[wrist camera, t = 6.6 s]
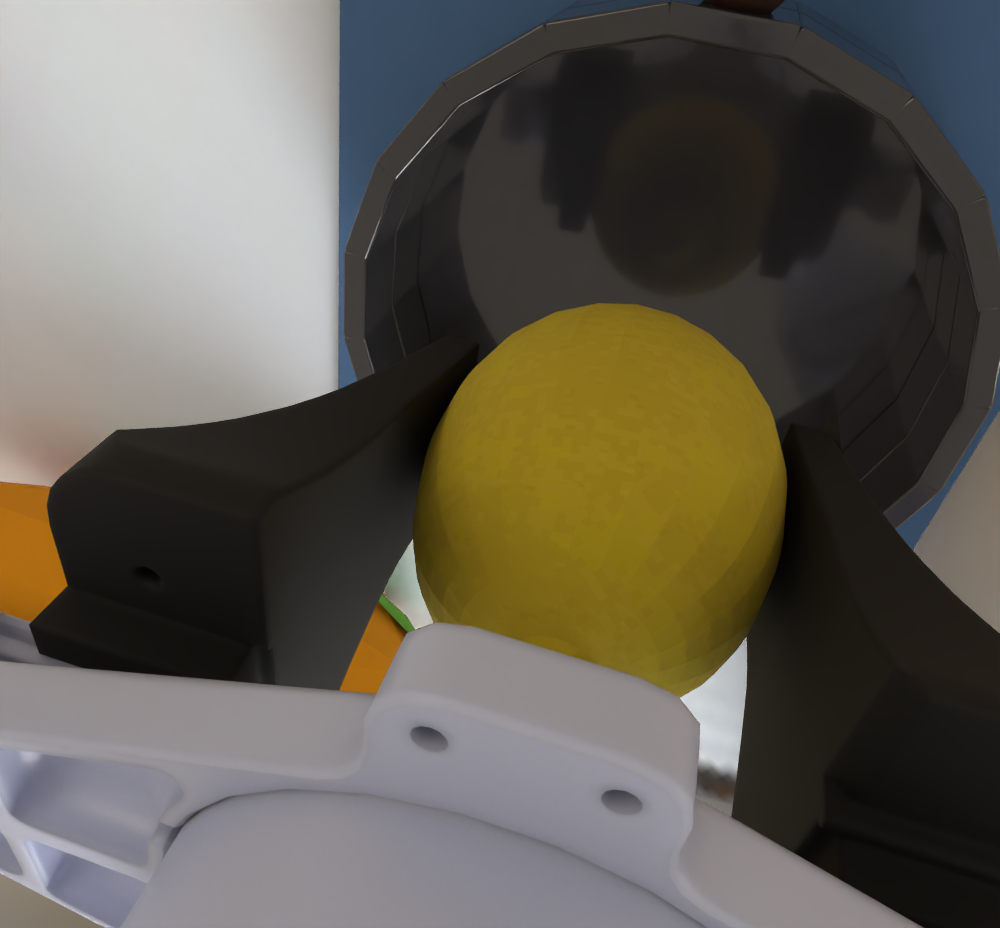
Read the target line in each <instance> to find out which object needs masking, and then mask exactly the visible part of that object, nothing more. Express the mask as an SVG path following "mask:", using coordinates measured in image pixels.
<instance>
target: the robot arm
mask: <svg viewBox="0 0 1000 928" xmlns="http://www.w3.org/2000/svg"><path fill="white" fill-rule="evenodd" d="M479 344H480V343H476V342H472V341H468V340H464V339H460V338H457V337H453V336H449V335H447V336H445V337H443V338H441V339H439V340H437V341H435V342H433V343H431V344H429V345H427V346H426V347H424V348H422V349H420V350H418V351H417V352H415V353H413V354H411V355H409V356H407V357H405V358H403V359H402V360H400V361H398V362H396V363H394V364H392V365H390V366H388V367H386V368H384V369H382V370H380V371H378V372H376V373H374V374H372V375H369V376H367V377H365V378H363V379H361V380H358V381H356V382H354V383H352V384H349V385H347V386H345V387H343V388H340V389H338V390H335V391H333V392H330V393H328V394H325V395H322V396H319V397H317V398H314V399H310V400H307V401H304V402H301V403H298V404H295V405H292V406H288V407H284V408H280V409H276V410H272V411H267V412H263V413H259V414H255V415H250V416H246V417H242V418H236V419H230V420H224V421H218V422H212V423H204V424H196V425H188V426H178V427H163V428H146V429H128V430H116V431H115V432H114V433H112V434H111V435H110V436H108V437H107V438H106V439H105V440H104V441H103V442H101V443H100V444H99V445H98V446H97V447H95V448H94V449H93V450H92V451H91V452H89V453H88V454H87V455H86V456H85V457H83V458H82V459H81V460H80V461H79V462H77V463H76V464H75V465H74V466H73V467H71V468H70V469H69V470H68V471H67V472H65V473H64V474H63V475H62V476H61V477H60V478H59V479H58V480H57V481H56V482H55V484H54V485H53V486H52V487H51V488H50V491H49V496H48V500H47V511H48V518H49V524H50V528H51V532H52V535H53V538H54V542H55V545H56V548H57V552H58V555H59V558H60V562H61V565H62V568H63V572H64V575H65V579H66V582H67V585H68V586H67V587H66V588H65V589H64V590H63V591H62V592H61V593H60V594H59V595H58V596H57V597H56V598H55V599H54V600H53V601H52V602H51V603H50V604H49V605H48V606H47V607H46V608H45V609H44V610H43V611H42V612H41V613H40V614H39V615H38V616H37V617H36V618H35V619H34V620H33V621H32V622H30V621H27V620H24V619H20V618H17V617H14V616H11V615H8V614H5V613H2V612H0V873H1V874H3V875H5V876H7V877H9V878H10V879H12V880H14V881H16V882H18V883H20V884H22V885H24V886H26V887H28V888H30V889H32V890H34V891H35V892H37V893H39V894H41V895H43V896H45V897H47V898H49V899H51V900H53V901H55V902H57V903H59V904H60V905H63V906H65V907H66V908H68V909H70V910H72V911H74V912H76V913H78V914H80V915H82V916H84V917H86V918H87V919H89V920H91V921H93V922H95V923H97V924H99V925H101V926H103V927H105V928H1000V633H998V632H997V631H996V630H995V629H993V628H992V627H991V626H990V625H989V624H988V623H986V622H985V621H984V620H983V619H982V618H981V617H980V616H978V615H977V614H976V613H975V612H974V611H973V610H971V609H970V608H969V607H968V606H967V605H966V604H965V603H963V602H962V601H961V600H960V599H959V598H958V597H957V596H956V595H955V594H954V593H953V592H952V591H951V590H950V589H949V588H948V587H947V586H946V585H945V584H944V583H943V582H942V581H941V580H940V579H939V578H938V577H937V576H936V575H935V574H934V573H933V572H932V571H931V570H930V569H929V568H928V567H927V566H926V565H925V564H924V563H923V562H922V560H921V559H920V558H919V557H918V556H917V555H916V554H915V553H914V551H913V550H912V549H911V548H910V547H909V546H908V544H907V543H906V542H905V541H904V539H903V538H902V537H901V536H900V535H899V533H898V532H897V531H896V530H895V528H894V527H893V526H892V525H891V523H890V522H889V521H888V519H887V518H886V517H885V515H884V514H883V513H882V511H881V510H880V509H879V507H878V506H877V505H876V503H875V502H874V500H873V499H872V498H871V496H870V495H869V493H868V492H867V490H866V489H865V487H864V486H863V485H862V483H861V482H860V480H859V479H858V477H857V476H856V474H855V472H854V471H853V469H852V468H851V466H850V465H849V463H848V462H847V460H846V459H845V457H844V456H843V454H842V452H841V451H840V449H839V448H838V446H837V445H836V443H835V442H834V440H833V439H832V437H831V436H830V435H829V433H828V432H825V431H822V430H818V429H814V428H810V427H806V426H802V425H798V424H794V423H791V424H790V427H789V429H788V431H787V433H786V436H785V438H784V440H783V443H782V445H781V449H782V453H783V457H784V462H785V466H786V474H787V496H786V511H785V525H784V539H783V544H782V549H781V555H780V558H779V561H778V565H777V568H776V572H775V574H774V577H773V579H772V582H771V584H770V587H769V589H768V592H767V594H766V596H765V598H764V601H763V603H762V605H761V608H760V610H759V612H758V614H757V617H756V619H755V621H754V623H753V625H752V627H751V629H750V631H749V633H748V635H747V689H746V699H745V709H744V718H743V728H742V738H741V746H740V754H739V762H738V771H737V779H736V787H735V794H734V802H733V809H732V816H731V817H730V816H728V815H727V814H725V813H723V812H722V811H720V810H718V809H716V808H715V807H713V806H711V805H709V804H708V803H706V802H704V801H702V800H701V799H699V798H697V797H696V796H695V794H696V782H697V771H698V759H699V743H700V723H699V722H698V721H697V719H696V718H695V717H694V716H693V714H692V713H691V712H690V711H689V709H688V708H687V707H686V706H685V704H684V703H683V702H682V701H681V699H680V698H679V697H678V696H676V695H675V694H673V693H671V692H669V691H667V690H665V689H663V688H661V687H659V686H657V685H655V684H653V683H651V682H649V681H647V680H645V679H643V678H641V677H638V676H635V675H632V674H628V673H625V672H622V671H618V670H615V669H612V668H609V667H605V666H602V665H599V664H596V663H592V662H589V661H586V660H582V659H579V658H576V657H573V656H569V655H566V654H563V653H559V652H556V651H553V650H550V649H546V648H543V647H540V646H537V645H533V644H530V643H527V642H523V641H520V640H517V639H514V638H510V637H507V636H504V635H501V634H497V633H494V632H491V631H487V630H484V629H481V628H478V627H474V626H465V625H457V624H448V623H433V624H430V625H428V626H425V627H422V628H419V629H416V630H414V631H411V632H408V633H407V634H406V636H405V638H404V639H403V641H402V643H401V645H400V647H399V649H398V651H397V652H396V654H395V656H394V658H393V660H392V662H391V665H390V667H389V669H388V671H387V673H386V675H385V677H384V679H383V681H382V683H381V685H380V687H379V689H378V691H377V693H376V694H373V693H361V692H350V691H339V690H340V687H341V685H342V683H343V680H344V678H345V676H346V673H347V671H348V668H349V666H350V664H351V661H352V659H353V657H354V655H355V652H356V650H357V648H358V646H359V643H360V641H361V639H362V637H363V634H364V632H365V630H366V627H367V625H368V623H369V621H370V619H371V616H372V614H373V612H374V610H375V608H376V606H377V603H378V601H379V599H380V597H381V595H382V593H383V591H384V588H385V586H386V584H387V582H388V580H389V578H390V576H391V574H392V572H393V571H394V569H395V567H396V565H397V563H398V562H399V560H400V558H401V557H402V555H403V553H404V552H405V550H406V549H407V547H408V545H409V544H410V542H411V540H412V539H413V518H414V510H415V504H416V498H417V493H418V489H419V484H420V479H421V475H422V470H423V465H424V461H425V457H426V454H427V450H428V446H429V444H430V441H431V438H432V436H433V433H434V431H435V429H436V427H437V425H438V423H439V421H440V419H441V417H442V416H443V414H444V412H445V411H446V409H447V407H448V406H449V404H450V402H451V401H452V399H453V397H454V395H455V394H456V392H457V390H458V389H459V387H460V386H461V384H462V383H463V381H464V380H465V378H466V377H467V376H468V375H469V373H470V372H471V371H472V370H473V369H474V368H475V367H476V366H477V360H478V352H479Z"/></svg>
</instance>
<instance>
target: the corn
mask: <svg viewBox="0 0 1000 928" xmlns="http://www.w3.org/2000/svg"><path fill="white" fill-rule="evenodd" d="M50 488H51V487H47V486H40V485H29V484H18V483H7V482H0V612H2V613H5V614H8V615H11V616H14V617H17V618H20V619H24V620H27V621H30V622H32V621H33V620H34V619H35V618H36V617H37V616H38V615H39V614H40V613H41V612H42V611H43V610H44V609H45V608H46V607H47V606H48V605H49V604H50V603H51V602H52V601H53V600H54V599H55V598H56V597H57V596H58V595H59V594H60V593H61V592H62V591H63V590H64V589H65V588H66V587H67V586H68V585H67V582H66V579H65V575H64V572H63V568H62V565H61V562H60V558H59V555H58V552H57V548H56V545H55V542H54V538H53V535H52V532H51V528H50V524H49V518H48V511H47V500H48V496H49V491H50ZM414 630H415V629H414V627H413V626H412V624H411V623H410V621H409V619H408V618H407V616H406V615H404V614H403V613H402V612H401V611H400V610H399V609H398V608H396V607H395V606H394V605H393V604H392V603H391V602H390V601H389V600H387V599H386V598H385V597H384V596H383V595H381V597H380V599H379V601H378V603H377V606H376V608H375V610H374V612H373V614H372V616H371V619H370V621H369V623H368V625H367V627H366V630H365V632H364V634H363V637H362V639H361V641H360V643H359V646H358V648H357V650H356V652H355V655H354V657H353V659H352V661H351V664H350V666H349V668H348V671H347V673H346V676H345V678H344V680H343V683H342V685H341V687H340V690H339V691H350V692H361V693H373V694H376V693H377V691H378V689H379V687H380V685H381V683H382V681H383V679H384V677H385V675H386V673H387V671H388V669H389V667H390V665H391V662H392V660H393V658H394V656H395V654H396V652H397V651H398V649H399V647H400V645H401V643H402V641H403V639H404V638H405V636H406V634H407V633H408V632H411V631H414Z"/></svg>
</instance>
